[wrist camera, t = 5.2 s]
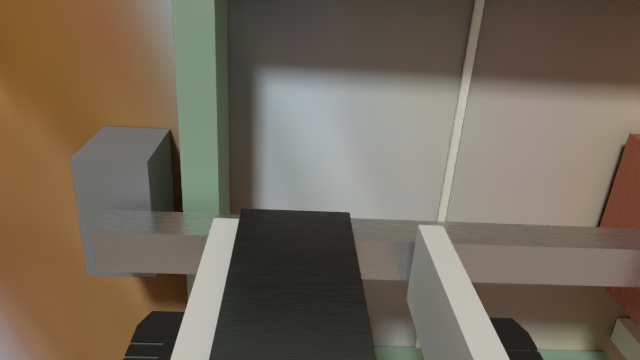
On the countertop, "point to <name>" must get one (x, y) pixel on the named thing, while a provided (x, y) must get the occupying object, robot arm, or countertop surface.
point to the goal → (627, 338)
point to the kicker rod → (363, 265)
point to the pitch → (209, 147)
